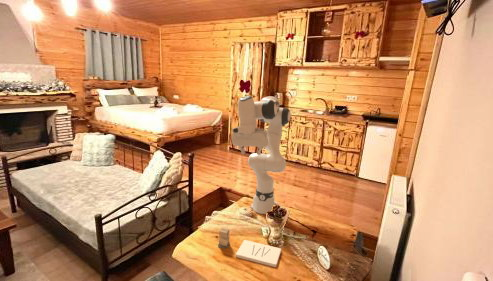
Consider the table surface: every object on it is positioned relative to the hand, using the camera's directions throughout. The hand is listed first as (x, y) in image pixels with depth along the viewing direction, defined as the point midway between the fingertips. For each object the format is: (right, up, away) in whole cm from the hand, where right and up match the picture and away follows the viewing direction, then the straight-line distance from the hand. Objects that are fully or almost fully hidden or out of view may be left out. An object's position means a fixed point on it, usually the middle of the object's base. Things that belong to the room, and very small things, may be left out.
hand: (251, 154), depth 135 cm
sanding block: (-14, -48, -1) cm, 50 cm away
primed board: (+4, -50, -7) cm, 50 cm away
